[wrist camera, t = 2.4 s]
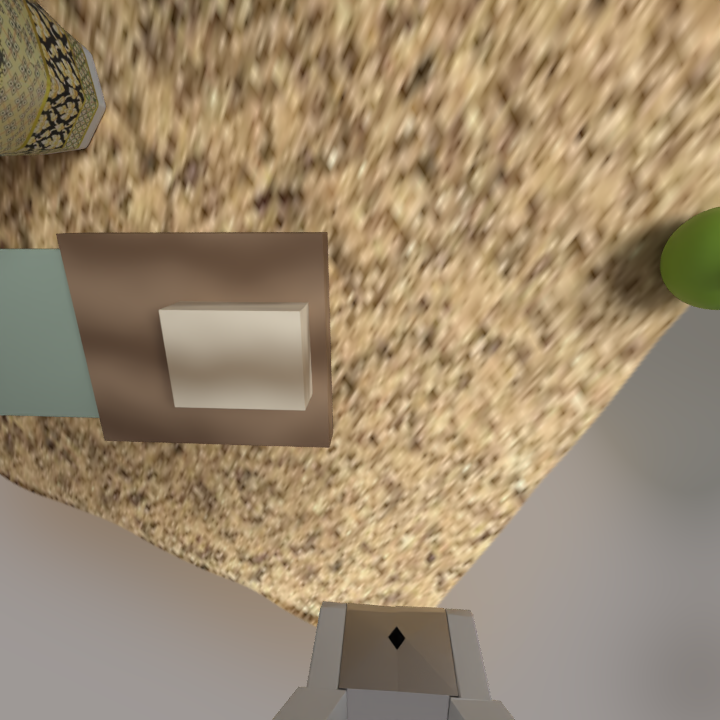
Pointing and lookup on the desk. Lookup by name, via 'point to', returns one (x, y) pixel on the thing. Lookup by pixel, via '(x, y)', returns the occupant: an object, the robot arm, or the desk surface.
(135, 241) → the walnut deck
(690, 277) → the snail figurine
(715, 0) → the desk surface
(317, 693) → the robot arm
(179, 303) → the ash tile
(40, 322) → the rubber mat
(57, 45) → the ceramic cup
